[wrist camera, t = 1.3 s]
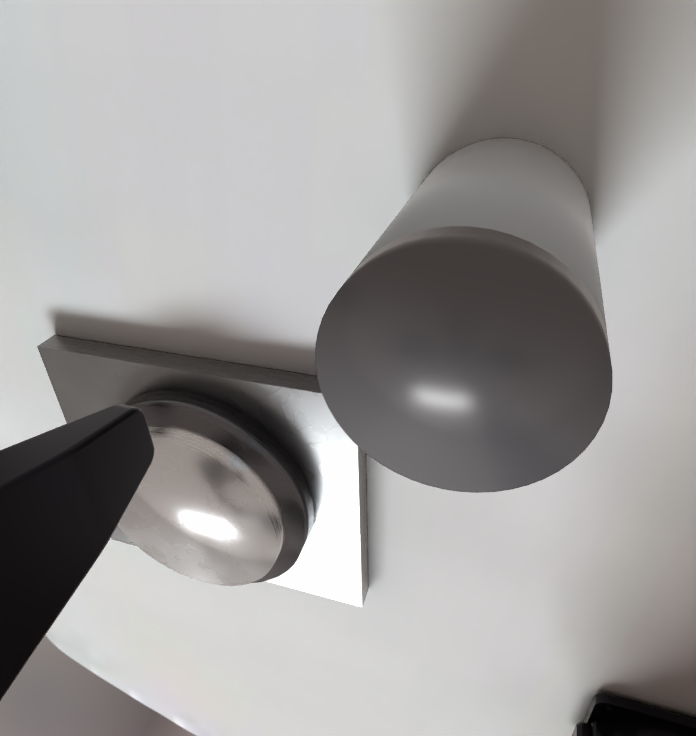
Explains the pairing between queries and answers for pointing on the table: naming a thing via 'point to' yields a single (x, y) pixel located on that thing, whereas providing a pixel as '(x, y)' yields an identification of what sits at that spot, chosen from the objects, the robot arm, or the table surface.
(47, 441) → the robot arm
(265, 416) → the base
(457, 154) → the knob
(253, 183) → the table surface
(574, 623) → the table surface
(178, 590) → the table surface
